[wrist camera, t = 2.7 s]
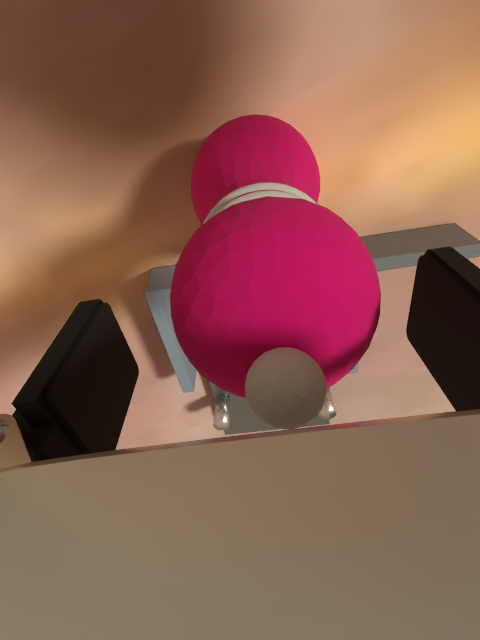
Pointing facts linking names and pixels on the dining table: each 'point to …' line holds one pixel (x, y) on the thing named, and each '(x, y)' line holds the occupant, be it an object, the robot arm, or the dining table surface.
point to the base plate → (241, 419)
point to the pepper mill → (270, 275)
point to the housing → (382, 248)
